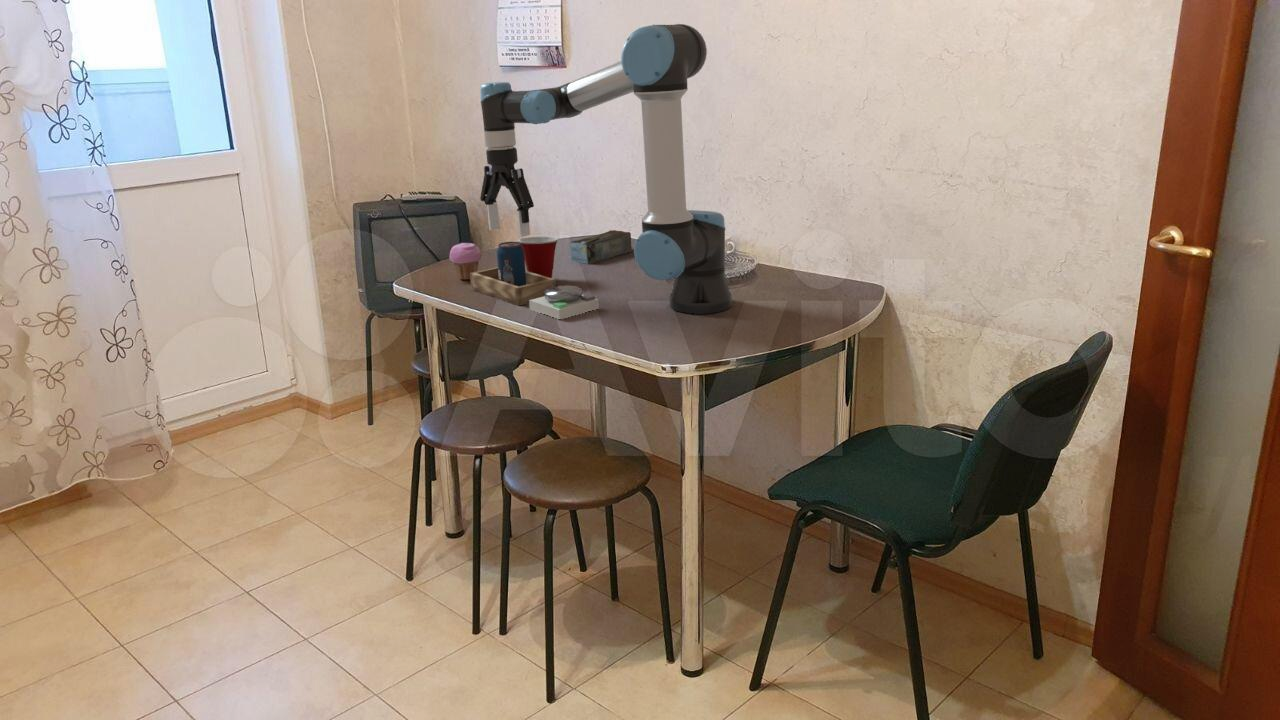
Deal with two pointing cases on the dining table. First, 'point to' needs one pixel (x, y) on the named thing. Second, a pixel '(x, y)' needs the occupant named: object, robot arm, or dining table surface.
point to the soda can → (511, 263)
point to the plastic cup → (539, 254)
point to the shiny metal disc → (563, 293)
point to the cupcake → (465, 259)
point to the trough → (510, 286)
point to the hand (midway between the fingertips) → (509, 232)
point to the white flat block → (564, 306)
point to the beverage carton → (600, 246)
